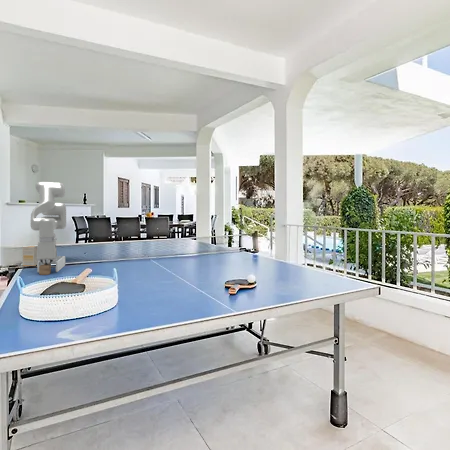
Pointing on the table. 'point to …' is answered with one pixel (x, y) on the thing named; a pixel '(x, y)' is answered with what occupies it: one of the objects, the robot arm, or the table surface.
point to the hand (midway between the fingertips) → (47, 270)
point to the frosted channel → (59, 263)
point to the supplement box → (29, 255)
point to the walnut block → (44, 269)
